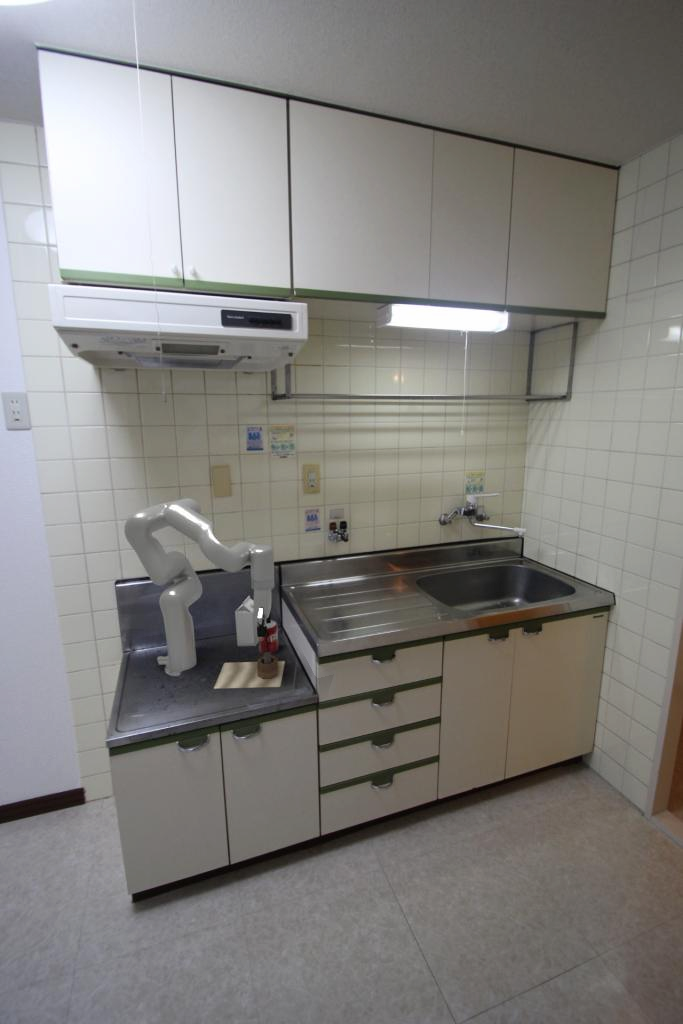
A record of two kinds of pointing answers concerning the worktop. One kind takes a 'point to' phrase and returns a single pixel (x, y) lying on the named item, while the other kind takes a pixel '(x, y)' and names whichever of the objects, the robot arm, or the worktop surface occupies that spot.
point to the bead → (267, 668)
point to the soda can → (269, 639)
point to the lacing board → (247, 675)
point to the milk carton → (246, 624)
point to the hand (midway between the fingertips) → (264, 629)
